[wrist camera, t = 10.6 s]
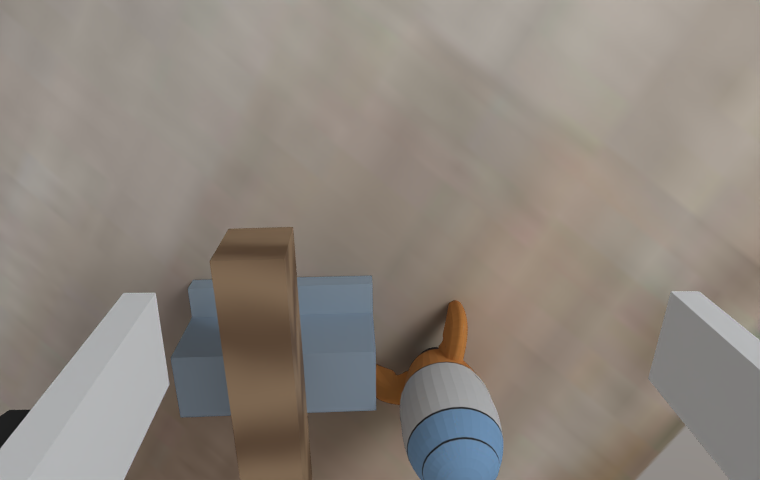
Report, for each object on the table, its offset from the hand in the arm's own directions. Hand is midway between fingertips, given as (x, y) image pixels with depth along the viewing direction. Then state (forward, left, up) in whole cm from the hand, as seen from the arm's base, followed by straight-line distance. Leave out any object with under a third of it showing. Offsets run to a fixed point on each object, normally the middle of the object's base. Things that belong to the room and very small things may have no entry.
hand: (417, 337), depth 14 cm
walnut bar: (+16, -7, -20) cm, 27 cm away
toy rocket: (+18, +5, -28) cm, 33 cm away
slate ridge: (+16, -7, -27) cm, 33 cm away
